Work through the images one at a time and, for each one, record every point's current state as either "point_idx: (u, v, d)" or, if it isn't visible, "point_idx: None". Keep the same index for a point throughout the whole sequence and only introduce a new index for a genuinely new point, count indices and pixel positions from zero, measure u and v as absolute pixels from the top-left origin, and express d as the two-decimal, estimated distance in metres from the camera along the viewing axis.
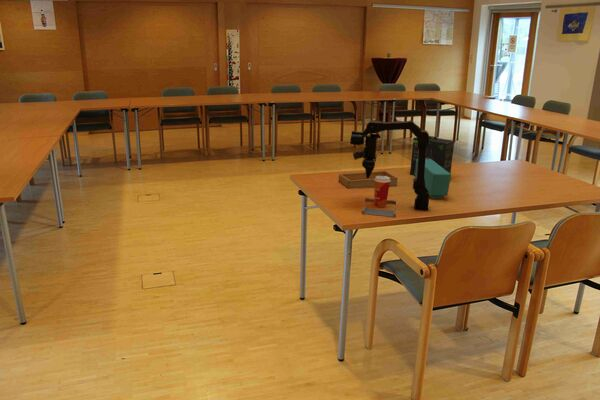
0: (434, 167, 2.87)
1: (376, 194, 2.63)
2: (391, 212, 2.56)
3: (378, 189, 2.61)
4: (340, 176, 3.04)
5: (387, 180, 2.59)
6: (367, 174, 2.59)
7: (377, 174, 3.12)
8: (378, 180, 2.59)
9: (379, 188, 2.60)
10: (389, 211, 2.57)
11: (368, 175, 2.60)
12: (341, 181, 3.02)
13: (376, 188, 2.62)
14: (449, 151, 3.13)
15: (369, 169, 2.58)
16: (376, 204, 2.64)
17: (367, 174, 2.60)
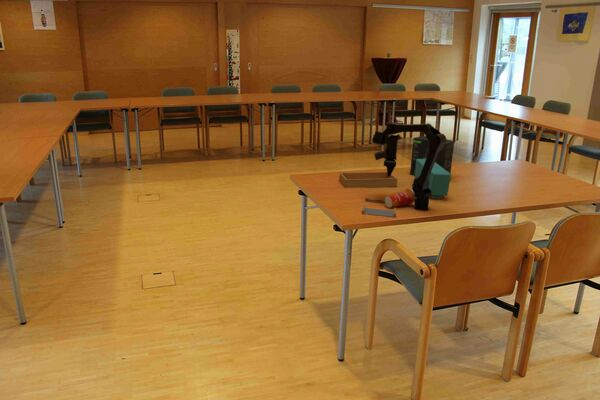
0: (434, 167, 2.87)
1: (401, 195, 2.63)
2: (391, 212, 2.56)
3: (407, 196, 2.64)
4: (340, 175, 3.06)
5: (413, 201, 2.68)
6: (388, 172, 2.70)
7: (379, 175, 3.11)
8: None
9: (408, 197, 2.64)
10: (389, 211, 2.57)
11: (389, 173, 2.71)
12: (341, 180, 3.05)
13: (406, 194, 2.64)
14: (449, 151, 3.13)
15: (390, 168, 2.69)
16: (393, 199, 2.61)
17: (388, 173, 2.70)
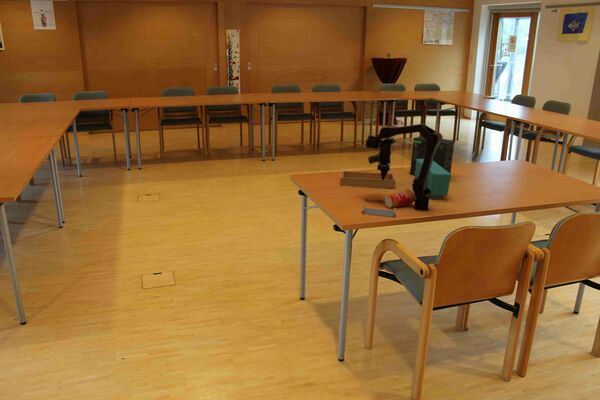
0: (434, 167, 2.87)
1: (401, 196, 2.63)
2: (391, 212, 2.56)
3: (407, 196, 2.64)
4: (342, 173, 3.10)
5: (413, 201, 2.68)
6: (382, 175, 2.72)
7: None
8: (414, 193, 2.66)
9: (408, 197, 2.64)
10: (389, 211, 2.57)
11: (383, 177, 2.72)
12: None
13: (406, 194, 2.64)
14: (449, 151, 3.13)
15: (384, 171, 2.70)
16: (393, 199, 2.61)
17: (382, 176, 2.72)
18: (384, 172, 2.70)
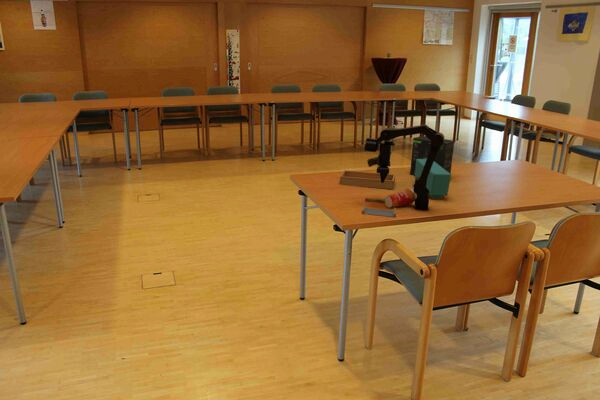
0: (434, 167, 2.87)
1: (401, 196, 2.63)
2: (391, 212, 2.56)
3: (407, 196, 2.64)
4: None
5: (413, 201, 2.68)
6: (382, 179, 2.66)
7: None
8: (414, 193, 2.66)
9: (408, 197, 2.64)
10: (389, 211, 2.57)
11: (383, 180, 2.66)
12: None
13: (406, 194, 2.64)
14: (449, 151, 3.13)
15: (384, 174, 2.64)
16: (393, 199, 2.61)
17: (381, 179, 2.66)
18: (383, 175, 2.65)
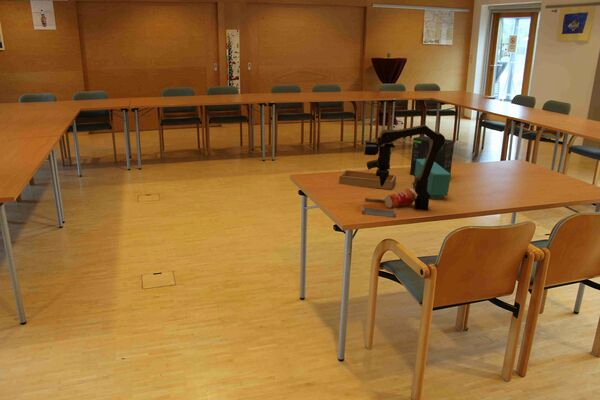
0: (434, 167, 2.87)
1: (401, 196, 2.63)
2: (391, 212, 2.56)
3: (407, 196, 2.64)
4: None
5: (413, 201, 2.68)
6: (381, 182, 2.60)
7: None
8: (414, 194, 2.66)
9: (408, 197, 2.64)
10: (389, 211, 2.57)
11: (382, 183, 2.60)
12: None
13: (406, 194, 2.64)
14: (449, 151, 3.13)
15: (383, 177, 2.59)
16: (393, 199, 2.61)
17: (381, 182, 2.60)
18: (383, 178, 2.59)
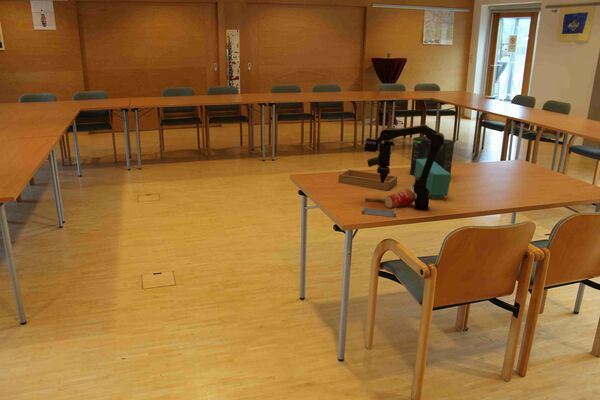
0: (434, 167, 2.87)
1: (401, 196, 2.63)
2: (391, 212, 2.56)
3: (407, 196, 2.64)
4: None
5: (413, 201, 2.68)
6: (382, 179, 2.66)
7: (386, 178, 3.05)
8: (414, 194, 2.66)
9: (408, 197, 2.64)
10: (389, 211, 2.57)
11: (383, 180, 2.66)
12: None
13: (406, 194, 2.64)
14: (449, 151, 3.13)
15: (384, 174, 2.64)
16: (393, 199, 2.61)
17: (381, 179, 2.66)
18: (383, 175, 2.64)
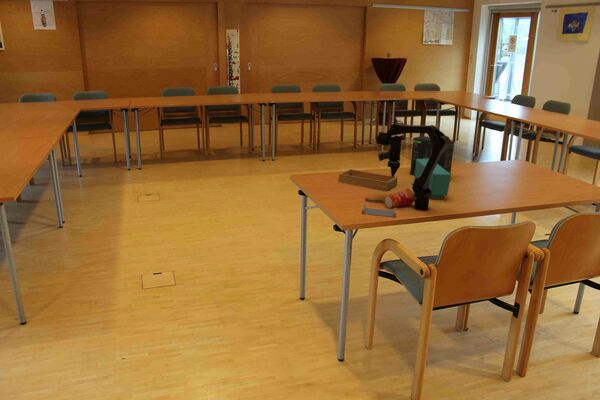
0: None
1: (401, 196, 2.63)
2: (391, 212, 2.56)
3: (407, 196, 2.64)
4: None
5: (413, 201, 2.68)
6: (392, 173, 2.70)
7: (387, 178, 3.05)
8: None
9: (408, 197, 2.64)
10: (389, 211, 2.57)
11: (393, 174, 2.71)
12: None
13: (406, 194, 2.64)
14: (449, 151, 3.13)
15: (394, 168, 2.69)
16: (393, 199, 2.61)
17: (392, 173, 2.70)
18: (394, 169, 2.69)
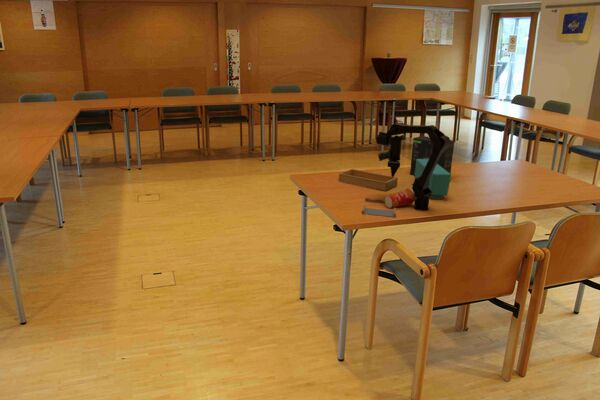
0: None
1: (401, 196, 2.63)
2: (391, 212, 2.56)
3: (407, 196, 2.64)
4: None
5: (413, 201, 2.68)
6: (392, 172, 2.70)
7: (387, 178, 3.04)
8: None
9: (408, 197, 2.64)
10: (389, 211, 2.57)
11: (393, 174, 2.71)
12: None
13: (406, 194, 2.64)
14: (449, 151, 3.13)
15: (394, 168, 2.69)
16: (393, 199, 2.61)
17: (392, 173, 2.71)
18: (394, 169, 2.69)
